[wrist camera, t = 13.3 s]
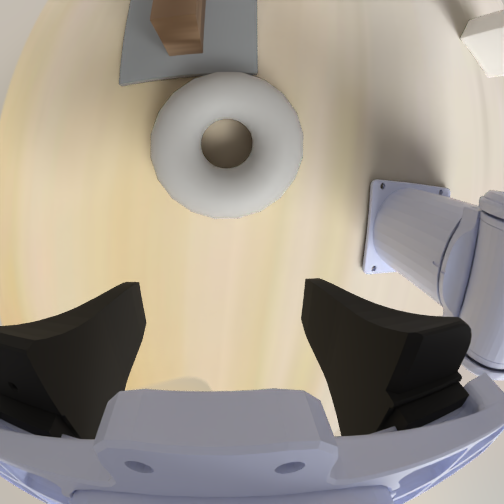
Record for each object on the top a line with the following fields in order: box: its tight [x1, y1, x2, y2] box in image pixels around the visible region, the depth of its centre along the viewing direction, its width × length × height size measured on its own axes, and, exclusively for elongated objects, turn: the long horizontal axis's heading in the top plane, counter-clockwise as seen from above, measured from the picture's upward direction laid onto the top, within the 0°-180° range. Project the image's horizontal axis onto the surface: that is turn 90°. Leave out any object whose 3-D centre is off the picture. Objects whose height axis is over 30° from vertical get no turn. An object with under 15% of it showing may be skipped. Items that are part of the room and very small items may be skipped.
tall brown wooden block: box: [150, 0, 206, 56], centre depth 11 cm, size 2×6×6 cm, turn 0°
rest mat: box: [119, 0, 258, 86], centre depth 14 cm, size 10×10×1 cm
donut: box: [151, 72, 303, 219], centre depth 16 cm, size 10×3×10 cm
